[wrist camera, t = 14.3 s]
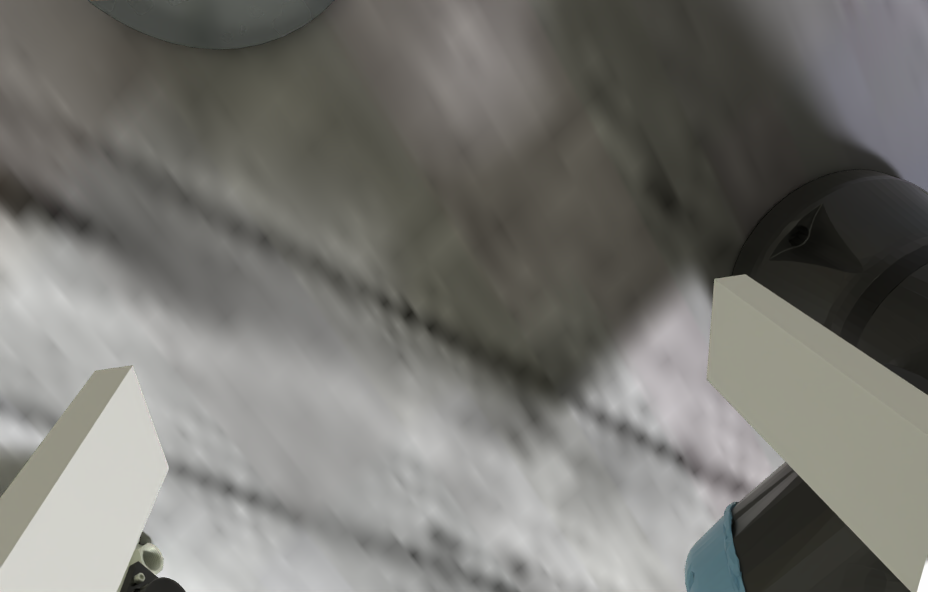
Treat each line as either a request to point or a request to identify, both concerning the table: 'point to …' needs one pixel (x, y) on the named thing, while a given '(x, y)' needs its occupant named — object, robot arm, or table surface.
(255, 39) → the round pan with handle
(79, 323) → the table surface
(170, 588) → the pneumatic valve
